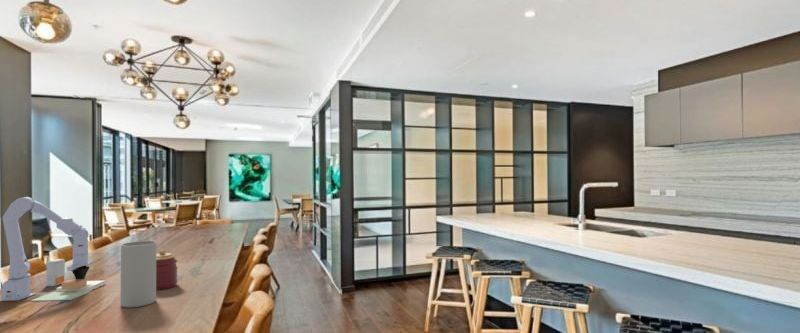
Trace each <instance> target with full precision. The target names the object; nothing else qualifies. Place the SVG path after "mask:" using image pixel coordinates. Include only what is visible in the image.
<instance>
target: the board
mask: <svg viewBox="0 0 800 333" xmlns="http://www.w3.org/2000/svg"><path fill="white" fill-rule="evenodd" d="M105 285H106V280H87V285H86V286H83V287H81V288H78V289H61V286H59V287H56V291H55V292H62V291H91V292H92V291H94V290H95V289H98V288H101V287H103V286H105ZM100 286H101V287H100ZM93 289H94V290H93Z"/></svg>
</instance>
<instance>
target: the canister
mask: <svg viewBox="0 0 800 333" xmlns="http://www.w3.org/2000/svg"><path fill="white" fill-rule="evenodd" d="M176 257H177V256H176V255H175V254H173V253H171V252H166V250H165V249H161V250H159V252H158V253H156V291H160V290H168V289H171V288H174V287H177V285H178V268H179V267H178V266H177V263H178V259H177V258H176Z"/></svg>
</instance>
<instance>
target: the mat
mask: <svg viewBox="0 0 800 333" xmlns="http://www.w3.org/2000/svg"><path fill="white" fill-rule="evenodd" d="M91 292H92V290H91V291H62V292H56V291H53V292H52V291H51V292H49V293H47V294H44V295H42V296H41V295H40V297H37V298H34V299H31V300H30V302H48V301H49V302H53V301H56V302H57V301H72V300H74V299H77V298H79V297H81V296H84V295H87V294H88V293H91Z"/></svg>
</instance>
